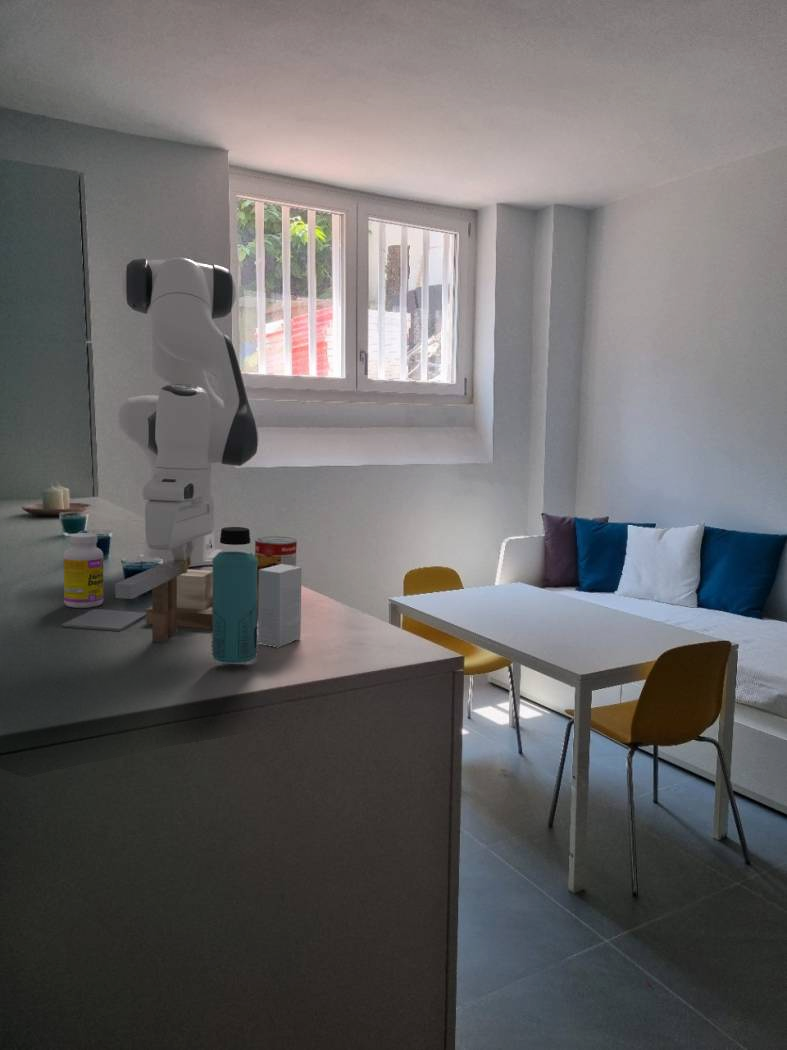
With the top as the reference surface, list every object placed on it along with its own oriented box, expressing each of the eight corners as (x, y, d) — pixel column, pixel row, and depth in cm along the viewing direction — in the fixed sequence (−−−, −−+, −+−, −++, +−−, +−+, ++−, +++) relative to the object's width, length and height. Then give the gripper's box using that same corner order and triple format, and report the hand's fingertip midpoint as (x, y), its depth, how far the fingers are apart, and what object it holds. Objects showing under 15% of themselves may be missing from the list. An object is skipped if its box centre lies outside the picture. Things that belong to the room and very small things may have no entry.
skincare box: (279, 635, 121) (281, 563, 120) (301, 639, 119) (303, 566, 118) (256, 644, 116) (257, 569, 114) (278, 648, 114) (280, 572, 112)
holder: (175, 606, 136) (175, 557, 135) (238, 611, 135) (239, 561, 134) (120, 639, 115) (120, 581, 114) (194, 644, 114) (194, 586, 113)
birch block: (186, 613, 132) (186, 569, 131) (212, 615, 132) (213, 571, 131) (174, 620, 127) (174, 574, 126) (202, 622, 127) (202, 576, 126)
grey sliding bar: (169, 571, 122) (169, 559, 121) (187, 572, 121) (187, 560, 121) (113, 597, 103) (113, 583, 103) (134, 599, 103) (134, 585, 102)
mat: (93, 611, 131) (93, 609, 130) (147, 615, 129) (147, 613, 129) (62, 626, 121) (62, 624, 121) (120, 631, 120) (120, 628, 120)
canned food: (266, 593, 149) (268, 535, 148) (301, 598, 147) (303, 538, 145) (246, 602, 142) (247, 540, 140) (283, 607, 139) (284, 544, 138)
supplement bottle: (89, 610, 131) (88, 539, 129) (56, 607, 132) (54, 536, 131) (111, 601, 138) (110, 533, 136) (79, 598, 139) (78, 531, 137)
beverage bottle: (261, 672, 103) (264, 530, 101) (212, 675, 101) (214, 531, 98) (253, 657, 109) (256, 523, 107) (207, 660, 107) (209, 524, 104)
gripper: (189, 479, 132) (188, 556, 133) (137, 489, 111) (137, 579, 113) (223, 481, 131) (222, 558, 133) (177, 491, 111) (176, 581, 113)
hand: (183, 568), depth 123 cm, fingers closed
